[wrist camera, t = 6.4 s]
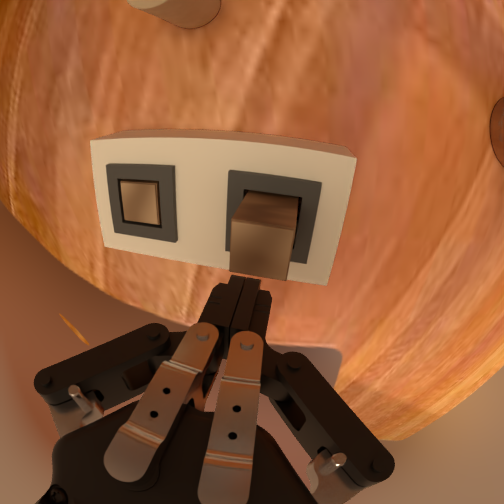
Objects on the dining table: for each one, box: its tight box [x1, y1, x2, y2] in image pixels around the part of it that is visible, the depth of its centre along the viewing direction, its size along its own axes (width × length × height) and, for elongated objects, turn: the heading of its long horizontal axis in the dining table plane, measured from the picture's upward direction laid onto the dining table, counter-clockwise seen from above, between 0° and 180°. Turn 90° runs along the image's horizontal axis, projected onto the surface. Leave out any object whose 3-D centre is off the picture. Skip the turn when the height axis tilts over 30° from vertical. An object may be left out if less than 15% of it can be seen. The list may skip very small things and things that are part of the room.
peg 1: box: [121, 179, 162, 225], centre depth 26 cm, size 4×4×7 cm
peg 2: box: [229, 190, 298, 281], centre depth 20 cm, size 4×4×7 cm
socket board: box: [90, 129, 357, 286], centre depth 25 cm, size 24×12×7 cm, turn 85°
